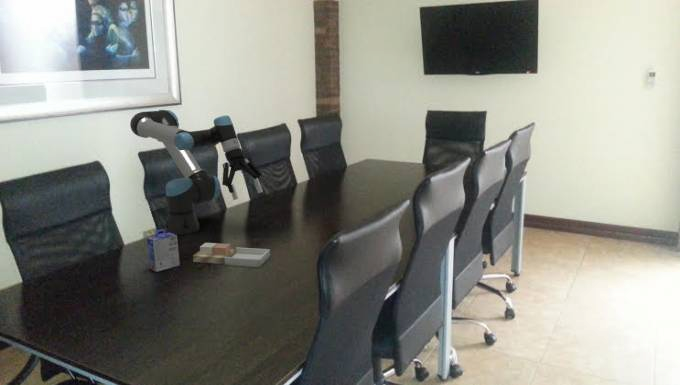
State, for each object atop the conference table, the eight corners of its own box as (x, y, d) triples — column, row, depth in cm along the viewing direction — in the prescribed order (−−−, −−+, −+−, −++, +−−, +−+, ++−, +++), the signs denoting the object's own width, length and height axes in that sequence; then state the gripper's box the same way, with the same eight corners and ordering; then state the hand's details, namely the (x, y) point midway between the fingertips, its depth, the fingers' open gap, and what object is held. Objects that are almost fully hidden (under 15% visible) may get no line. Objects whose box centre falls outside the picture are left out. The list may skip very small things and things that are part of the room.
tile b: (213, 254, 215) (213, 247, 215) (218, 250, 220) (218, 243, 219) (225, 255, 214) (225, 248, 214) (230, 251, 219) (230, 244, 218)
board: (193, 261, 215) (192, 255, 214) (204, 253, 225) (204, 247, 224) (224, 264, 212) (224, 257, 212) (234, 255, 222) (234, 249, 221)
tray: (224, 265, 211) (224, 257, 211) (236, 254, 223) (236, 247, 222) (259, 267, 209) (259, 259, 208) (270, 256, 220) (270, 249, 219)
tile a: (200, 254, 216) (199, 246, 216) (206, 249, 221) (205, 242, 221) (212, 254, 215) (211, 247, 215) (217, 250, 220) (217, 243, 219)
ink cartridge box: (173, 262, 215) (170, 226, 212) (180, 265, 211) (177, 229, 208) (149, 268, 209) (145, 231, 205) (156, 272, 205) (152, 234, 201)
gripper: (213, 152, 233) (230, 200, 233) (259, 143, 251) (274, 187, 251) (204, 157, 238) (220, 204, 238) (249, 148, 256) (265, 192, 256)
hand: (248, 195), depth 244 cm, fingers open, 13 cm apart
